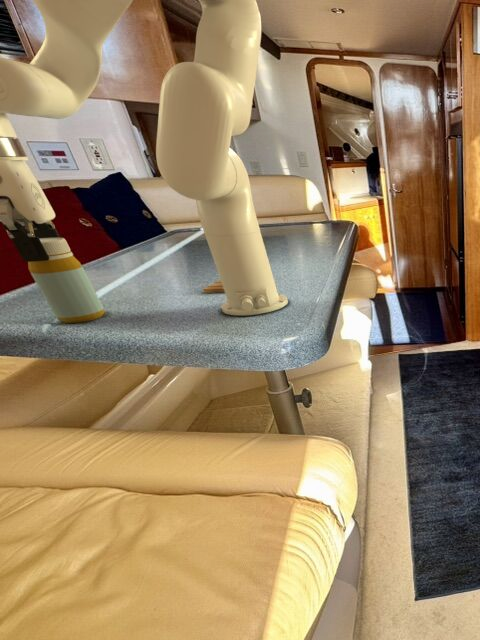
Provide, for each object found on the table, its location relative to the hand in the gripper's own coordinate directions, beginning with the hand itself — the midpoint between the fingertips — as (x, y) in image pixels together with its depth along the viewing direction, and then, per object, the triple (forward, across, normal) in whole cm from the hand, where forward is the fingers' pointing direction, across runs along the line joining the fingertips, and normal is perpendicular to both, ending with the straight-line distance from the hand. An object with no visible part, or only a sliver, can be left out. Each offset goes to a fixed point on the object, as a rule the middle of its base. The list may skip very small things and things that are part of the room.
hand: (46, 255), depth 74 cm
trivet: (+12, +10, -26) cm, 30 cm away
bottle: (+12, 0, -1) cm, 13 cm away
